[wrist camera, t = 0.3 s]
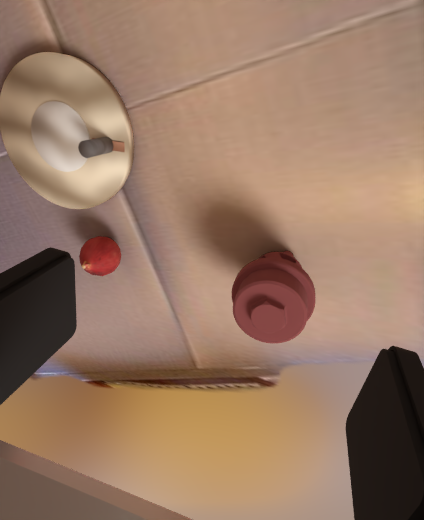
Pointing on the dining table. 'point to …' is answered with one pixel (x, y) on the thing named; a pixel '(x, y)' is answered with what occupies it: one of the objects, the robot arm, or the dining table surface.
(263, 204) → the dining table surface
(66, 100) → the turntable
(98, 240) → the onion
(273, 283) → the mechanical component
